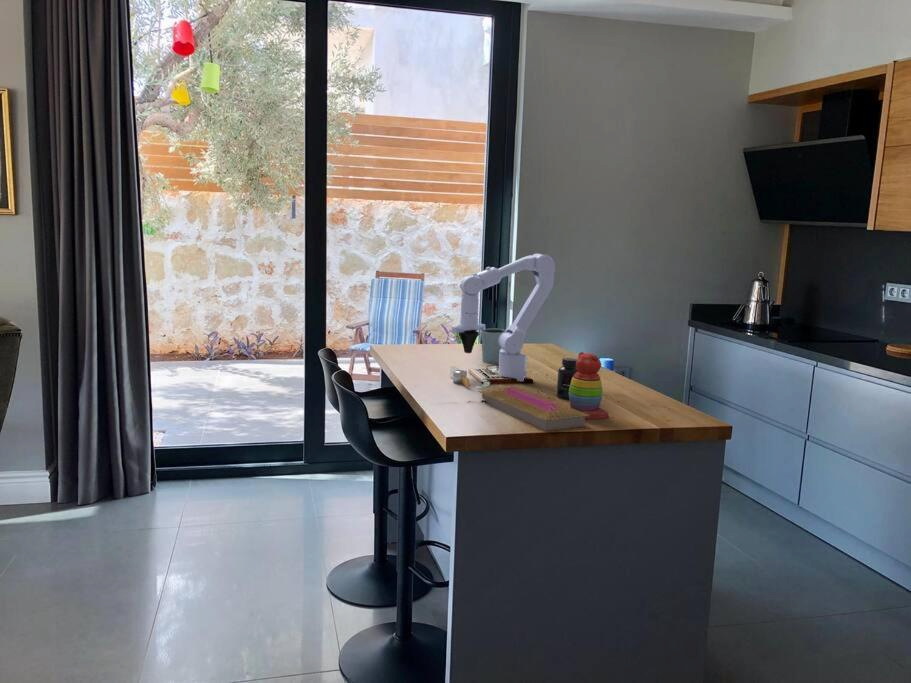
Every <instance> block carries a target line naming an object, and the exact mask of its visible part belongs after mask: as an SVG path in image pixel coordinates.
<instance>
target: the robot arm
mask: <svg viewBox="0 0 911 683" xmlns="http://www.w3.org/2000/svg"><path fill="white" fill-rule="evenodd" d="M555 270H556V265H555V262H554V259H553V258H552V257H551V255H548V254H542V253H537V252H536V253H533V254H532V255H526V256H524V257H521V258H519V259H516V260H514V261H513V262H510V263H508V264H505V265H503V266H501V267H499V268H496V267H494V266H492V267H491V266H487V267H485V269H484V270H482V271H479V272H474V273H472V276H470V275H468V276H465V277H464V278H463V279H462V280H461V282H460V284H459V288H460V290H461V291H462V292H461V302H460V303H461V304H460V305H461V306H460V323H459V324H458V325H456V326H452V327H451V333H452V334H458V336H459V338H460V341H461V343H462V347H463V351H464V352H463V353H465V354H472V351H473V349H474V346H475V343H476V341H477V339H478V337H479V335H480V332H479V331H481V330H485V329H486V324H484V323H478V322H479V294H480V292H481V290H482V291H483V290H485V289H488V288H490V287H494V286H495V285H497V284H500V282H501V280H502V278H505V277H508V276H510V275H513V274H516V273H518V272H522V271H531V272H532V273H533V275H534V278H535V282H536V285H535V286H534V288H533V289H532V290H531V292H530V294H529V296H528V297H527V299H526V301H525V303H524V304H523V306H522V308H521V309H520V311H519V312H518V314H517V316H516V318H515V319H514V321H513V323H511V324H510V325H509V326H508V327H507V328H506V329H505V330H506V331H505V332H503V333H502V334H501V335H500V336H499V339H498V342H499V345H500V346H501V349H500V353H499V364H498V376H499V375H500V377H502V376H503V377H504V378H513V379H514V378H516V379H517V380H516V381H518V382H524V381H525V380H524V378H525V377H526V378H527V374H528V372H527V369H528V368H527V367H528V366H527V365H528V356H527V354H526V353H525V354H524V353H522V352H521V351H522V349H523V346H524V342H525V339H526V337H527V330H528V328H529V327H530V325H532V324H531V323H532V322H533V321H534V319H535V317H536V315H537V314H538V312H539V311H540V309H541V307H542V306H543V303H545V301H546V299H547V297H548V296H549V294H550V292H551V291H552V289H553V287H554V284H555V282H554V281H555ZM526 378H525V379H526Z"/></svg>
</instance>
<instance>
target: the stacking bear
mask: <svg viewBox="0 0 911 683" xmlns="http://www.w3.org/2000/svg"><path fill="white" fill-rule="evenodd" d="M576 359H577V361H576V367H577V370H578V372H576V373H575V374H574V377H573V378H572V380H571V384H570V387H569V399H568V400H569V407H570V408H572V409H575V410H577V411H580V412H582V413H585V414H587V415H590V416H585V420H586V419H587V420H596V419H597V420H599V419H607V418H609V412H608V411H607V410H605V409H604V408H601V407H600V406H601V403H602V398H603V394H604V392H603V387H602V386H603V384H602V380H601V375H599V373H598V372H599V371H600V369H602V368H601V367H602V362H601V360H600V359H599V357H598V356H597V355H596V354H593V353H590V352H589V353H588V352H586V353H584V352H583V351H580V352H579V353H578V357H577V358H576ZM574 412H575V411H574ZM585 414H584V415H585Z"/></svg>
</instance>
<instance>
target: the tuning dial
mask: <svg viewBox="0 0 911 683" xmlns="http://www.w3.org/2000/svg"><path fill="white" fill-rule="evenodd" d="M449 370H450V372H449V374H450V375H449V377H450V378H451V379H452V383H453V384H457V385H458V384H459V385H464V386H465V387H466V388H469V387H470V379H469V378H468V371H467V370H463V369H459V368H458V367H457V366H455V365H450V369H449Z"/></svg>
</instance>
